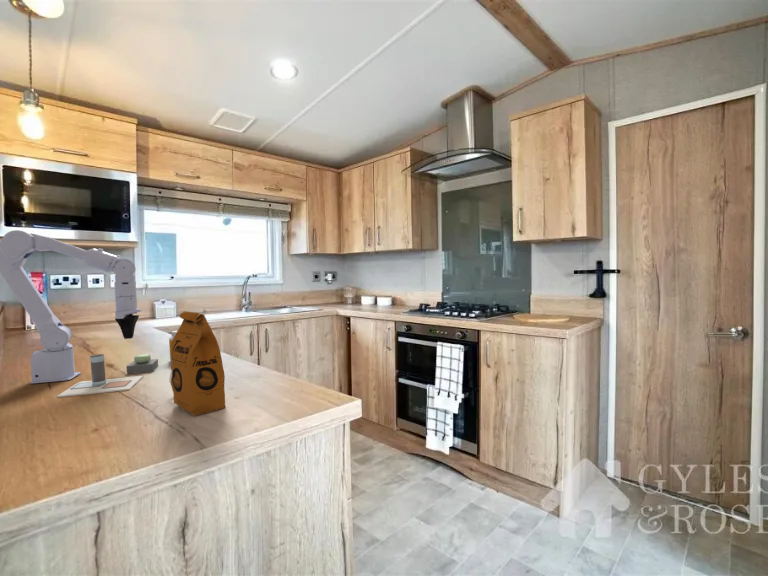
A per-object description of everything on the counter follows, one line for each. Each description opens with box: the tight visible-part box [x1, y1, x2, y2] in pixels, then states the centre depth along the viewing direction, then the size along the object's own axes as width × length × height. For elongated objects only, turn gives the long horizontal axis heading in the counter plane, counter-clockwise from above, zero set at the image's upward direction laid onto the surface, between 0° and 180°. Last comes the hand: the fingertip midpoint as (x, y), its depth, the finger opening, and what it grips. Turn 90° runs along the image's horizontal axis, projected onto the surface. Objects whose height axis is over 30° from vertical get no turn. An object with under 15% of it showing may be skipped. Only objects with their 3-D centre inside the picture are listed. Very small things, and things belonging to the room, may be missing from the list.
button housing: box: [126, 358, 159, 375], centre depth 124 cm, size 7×7×2 cm
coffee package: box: [170, 310, 226, 417], centre depth 89 cm, size 10×12×22 cm
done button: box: [133, 353, 152, 363], centre depth 124 cm, size 4×4×4 cm
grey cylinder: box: [89, 353, 107, 386], centre depth 108 cm, size 3×3×8 cm
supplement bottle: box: [168, 330, 178, 361], centre depth 137 cm, size 6×6×10 cm
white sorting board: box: [56, 375, 145, 398], centre depth 108 cm, size 16×13×1 cm
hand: (128, 338), depth 126 cm, fingers closed
